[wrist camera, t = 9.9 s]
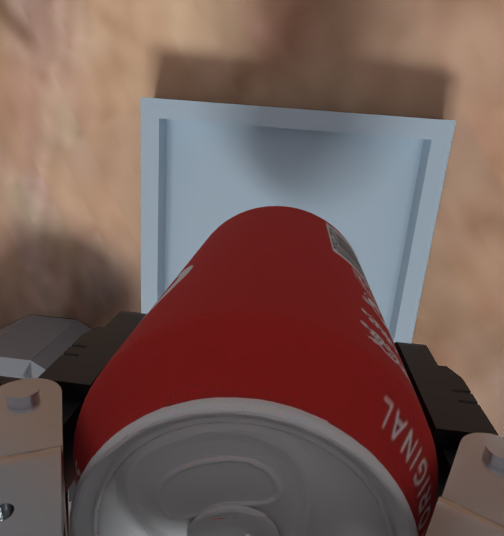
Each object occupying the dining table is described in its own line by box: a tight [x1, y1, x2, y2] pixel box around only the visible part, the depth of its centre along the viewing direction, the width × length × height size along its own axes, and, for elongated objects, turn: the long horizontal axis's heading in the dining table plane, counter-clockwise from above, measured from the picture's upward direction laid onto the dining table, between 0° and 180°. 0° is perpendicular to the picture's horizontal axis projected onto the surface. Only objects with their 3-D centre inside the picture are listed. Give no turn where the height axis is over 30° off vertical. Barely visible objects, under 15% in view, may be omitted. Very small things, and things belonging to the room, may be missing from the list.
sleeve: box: [0, 315, 92, 516], centre depth 24 cm, size 10×10×4 cm
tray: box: [141, 97, 456, 343], centre depth 22 cm, size 13×13×2 cm
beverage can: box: [69, 206, 438, 536], centre depth 12 cm, size 6×6×12 cm
